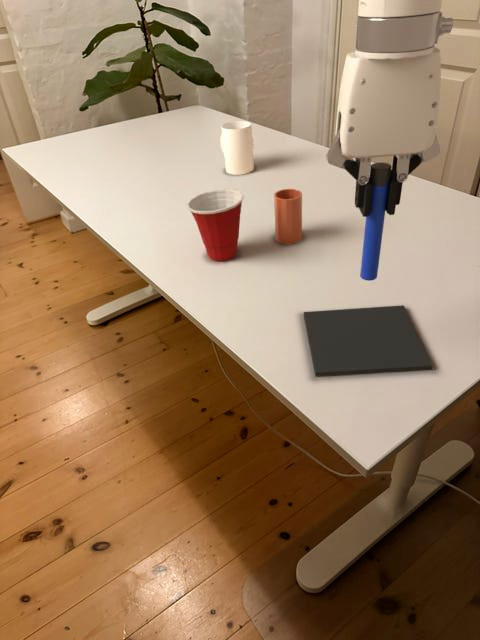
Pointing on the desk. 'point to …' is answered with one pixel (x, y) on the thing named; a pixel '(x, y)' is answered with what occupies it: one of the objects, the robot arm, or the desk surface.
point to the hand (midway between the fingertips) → (375, 210)
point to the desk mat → (364, 341)
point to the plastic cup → (218, 221)
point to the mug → (237, 147)
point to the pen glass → (288, 215)
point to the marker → (375, 220)
